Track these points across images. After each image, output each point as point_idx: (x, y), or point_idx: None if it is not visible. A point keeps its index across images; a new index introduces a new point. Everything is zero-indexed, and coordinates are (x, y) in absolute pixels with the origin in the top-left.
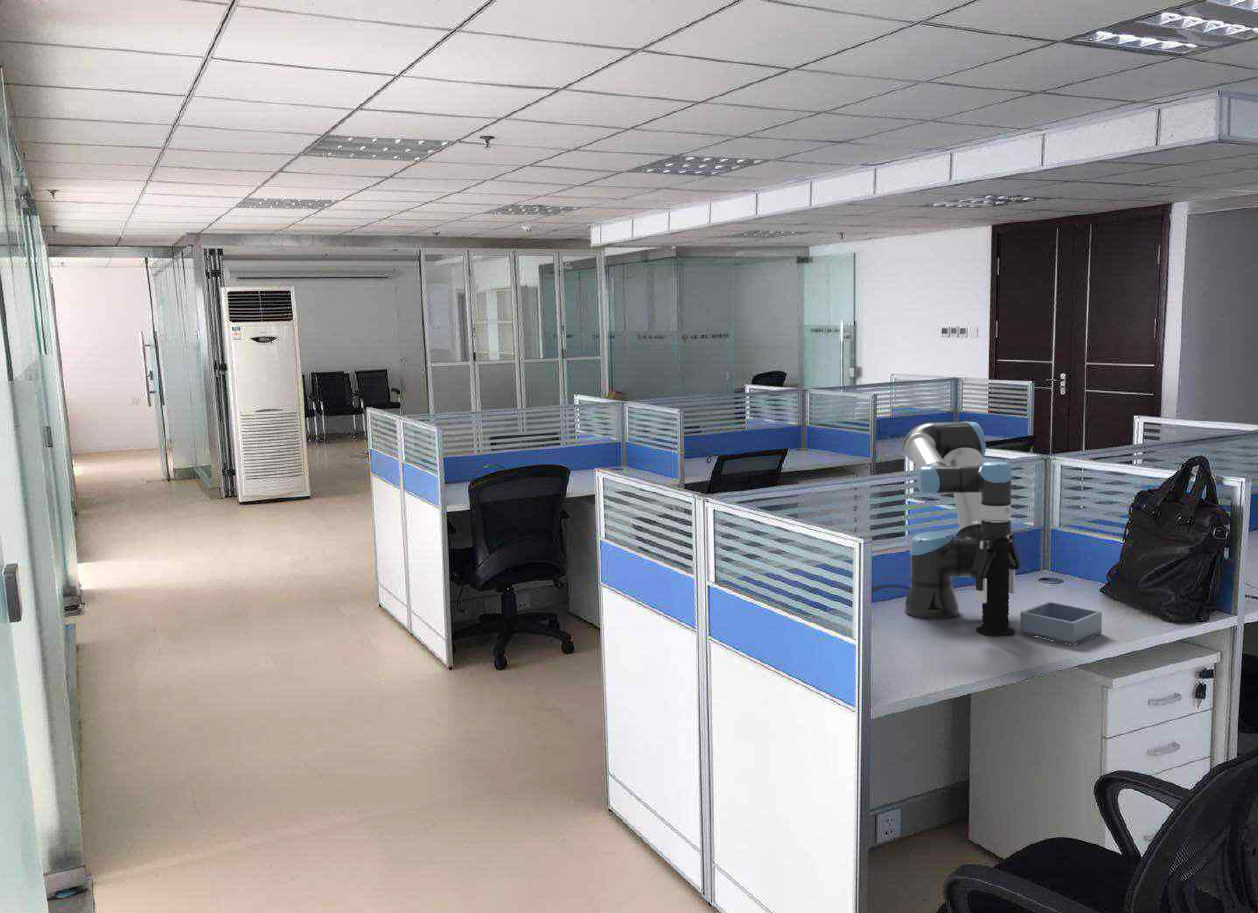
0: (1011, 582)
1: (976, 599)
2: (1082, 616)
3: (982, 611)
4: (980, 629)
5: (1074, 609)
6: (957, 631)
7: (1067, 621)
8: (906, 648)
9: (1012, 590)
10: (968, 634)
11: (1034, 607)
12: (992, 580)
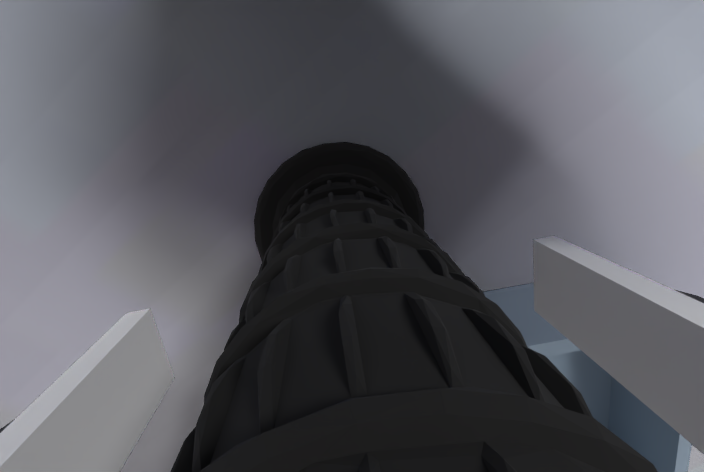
0: (595, 343)
1: (120, 324)
2: (644, 437)
3: (294, 209)
4: (282, 195)
5: (670, 427)
6: (190, 124)
7: None
8: None
9: (548, 314)
10: (203, 191)
11: (552, 346)
12: None
